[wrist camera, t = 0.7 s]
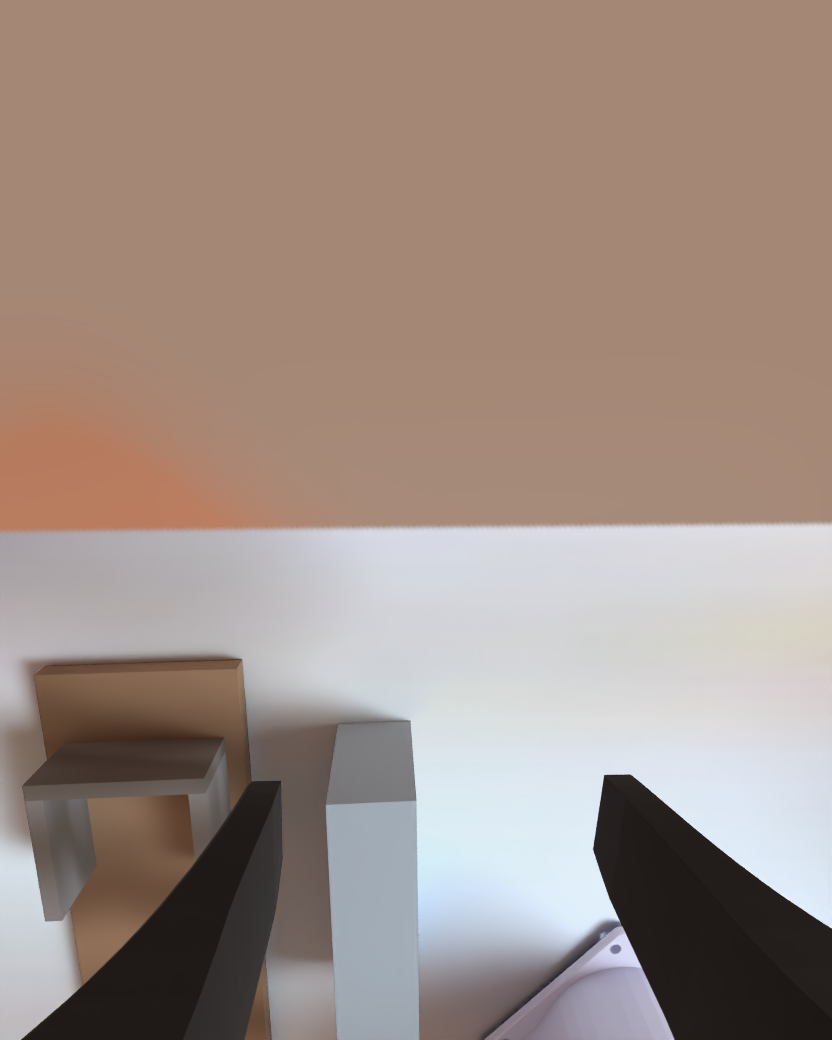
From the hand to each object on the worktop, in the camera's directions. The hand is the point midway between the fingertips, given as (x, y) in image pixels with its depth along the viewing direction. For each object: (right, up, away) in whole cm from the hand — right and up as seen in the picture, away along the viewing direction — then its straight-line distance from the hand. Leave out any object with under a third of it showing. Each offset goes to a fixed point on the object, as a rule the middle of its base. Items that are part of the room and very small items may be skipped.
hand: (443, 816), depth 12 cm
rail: (-2, -8, +12) cm, 15 cm away
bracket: (-11, -10, +12) cm, 19 cm away
